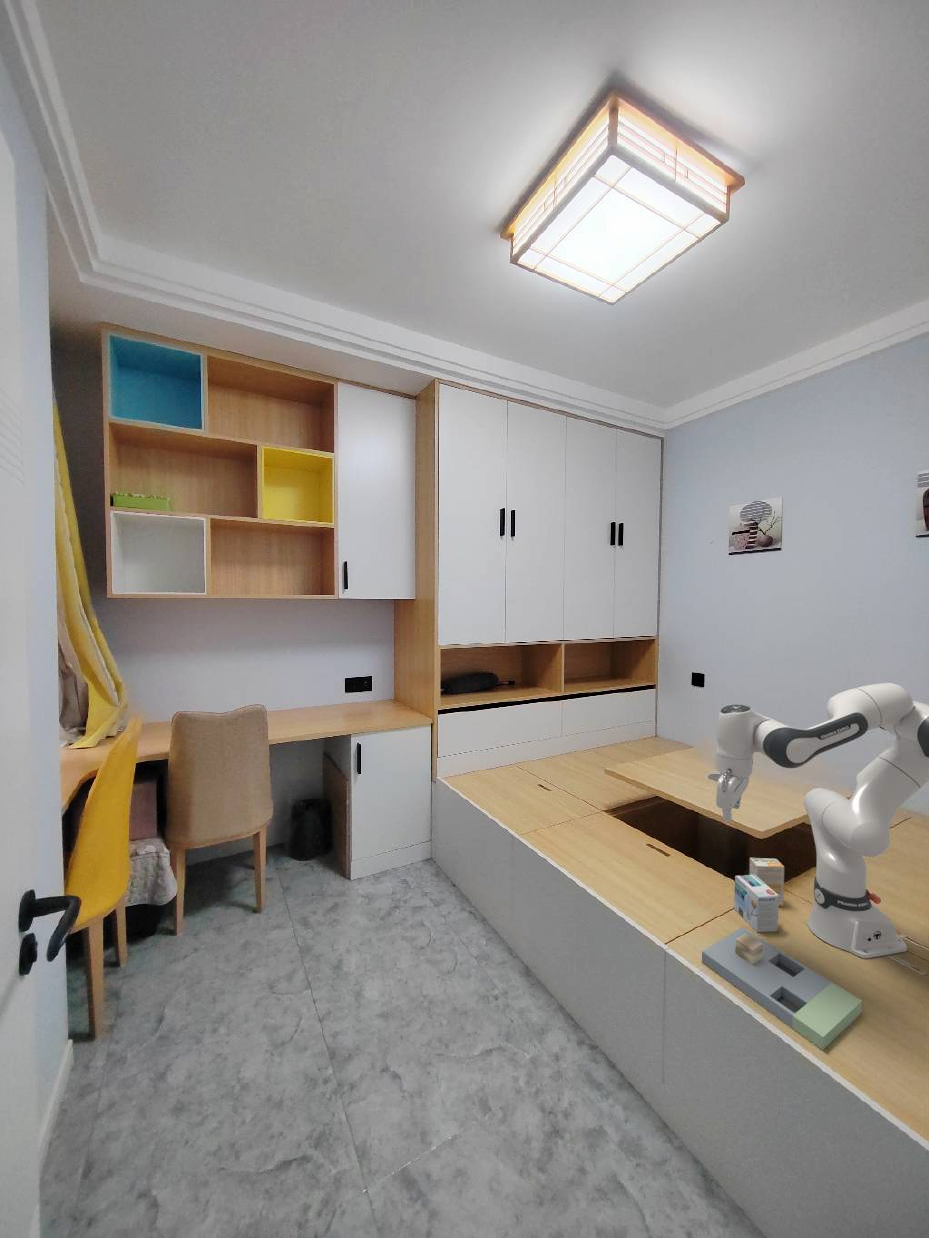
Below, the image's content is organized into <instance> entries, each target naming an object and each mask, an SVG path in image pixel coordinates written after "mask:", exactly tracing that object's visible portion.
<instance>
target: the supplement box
mask: <svg viewBox="0 0 929 1238" xmlns="http://www.w3.org/2000/svg"><path fill="white" fill-rule="evenodd" d="M749 875H756V876H757V877H758V878H759V879H761V880H762V881H763V882H764V883H765V884H766V885H767V886H769V887H770V888H771V889H772V890H773V891H774V892H776V893H777V894H778V895H779V908H783V907H784V889H785V866H784V865H783V864H782V862H780V861H779V860H778V858H768V857H767V858H763V857H761V858H760V857H749Z"/></svg>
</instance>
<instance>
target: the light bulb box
mask: <svg viewBox="0 0 929 1238" xmlns="http://www.w3.org/2000/svg"><path fill="white" fill-rule="evenodd" d="M733 895H734V897H733V898H734V900H733V901H734V902H733V909H734V910H735V911H736V913H738V914H739V915H740V917H741V918H742V919H743V920H744V921H745V922H746V923H747V924H748V925H749V926H750V927H751V928H752V929H753V930H754V931H755V932H756V933H764V932H765V933H766V932H778V931H779V930H778V929H779V908H780V907H779V895H778V894H777V893H776V892H774V891H773V890H772V889H771V888H770V887H769V886H767V885H766V884H765V883H764V882H763V881H762V880H761V879H759V878H758V877H757V876H756V875H750V874H743V875H735V876H734V894H733Z"/></svg>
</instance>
